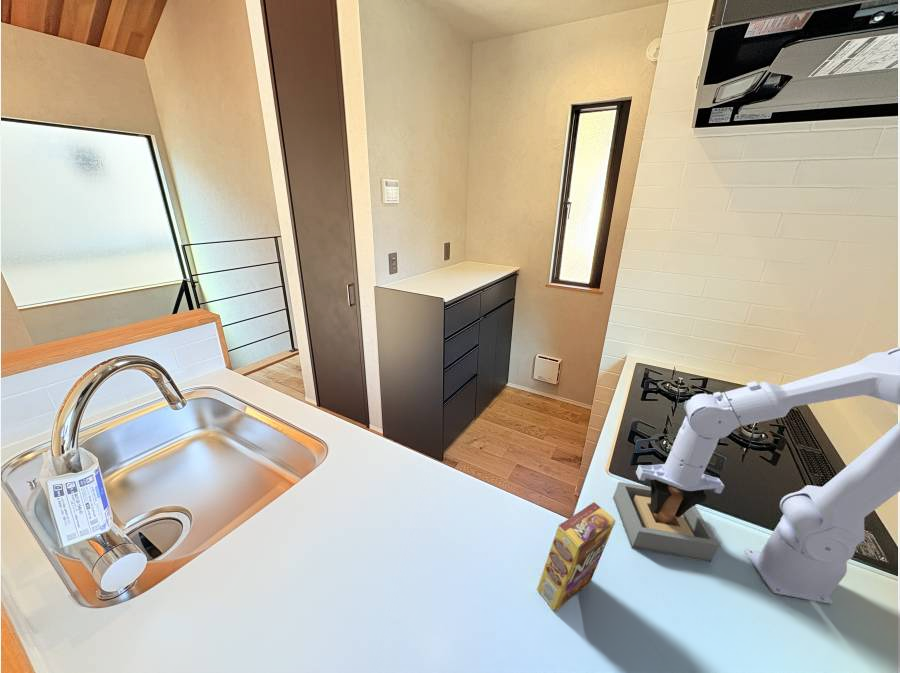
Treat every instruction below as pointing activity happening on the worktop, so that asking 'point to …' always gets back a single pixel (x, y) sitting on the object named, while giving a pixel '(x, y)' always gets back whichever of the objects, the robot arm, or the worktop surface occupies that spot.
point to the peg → (669, 507)
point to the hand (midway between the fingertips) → (664, 511)
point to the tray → (662, 537)
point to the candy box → (575, 555)
